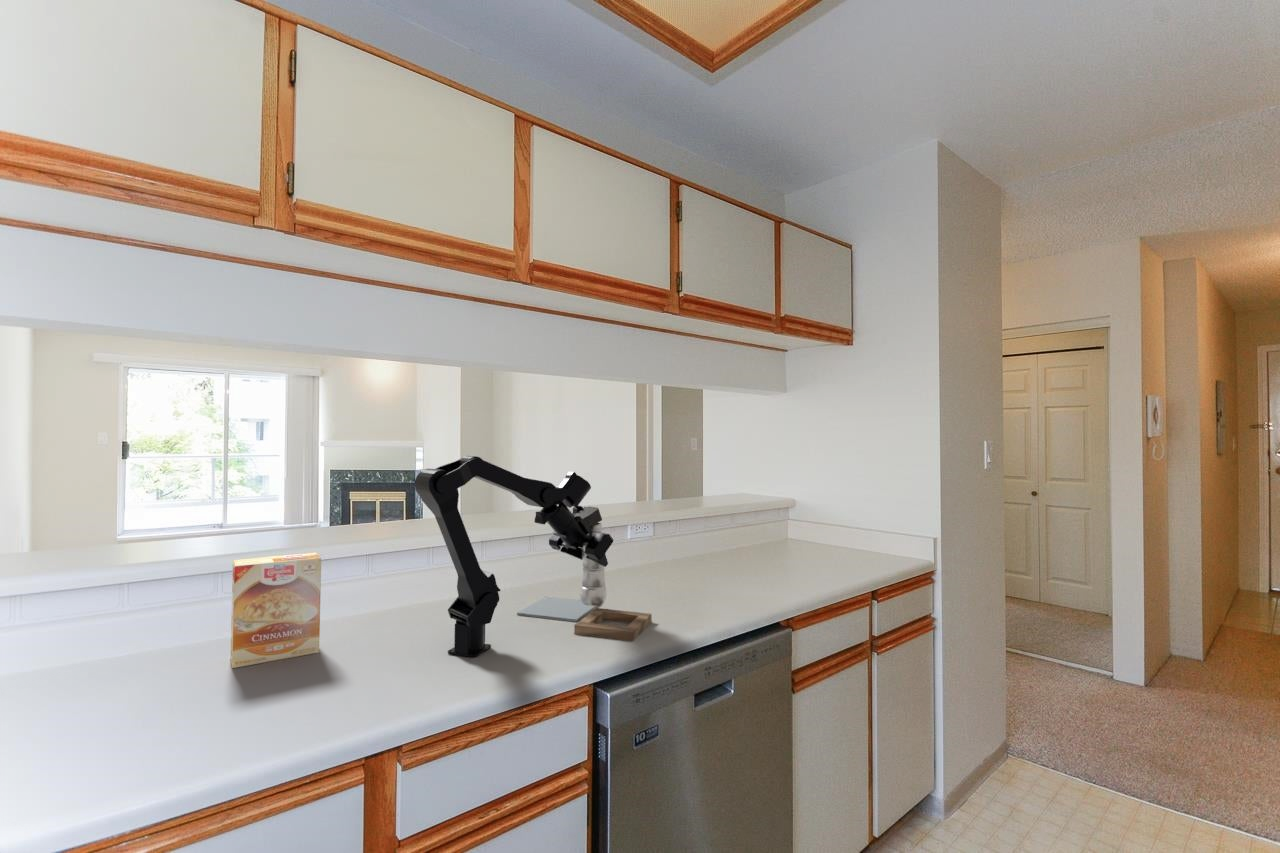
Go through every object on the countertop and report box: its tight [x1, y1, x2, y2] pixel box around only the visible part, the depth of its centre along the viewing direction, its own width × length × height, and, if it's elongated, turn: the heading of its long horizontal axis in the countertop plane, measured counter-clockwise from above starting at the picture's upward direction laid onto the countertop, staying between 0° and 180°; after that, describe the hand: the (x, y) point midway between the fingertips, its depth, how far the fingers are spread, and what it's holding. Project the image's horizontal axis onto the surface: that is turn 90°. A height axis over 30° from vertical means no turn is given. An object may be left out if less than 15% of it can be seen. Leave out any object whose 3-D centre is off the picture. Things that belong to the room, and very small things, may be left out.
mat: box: [516, 596, 600, 623], centre depth 155 cm, size 16×16×1 cm
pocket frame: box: [573, 607, 653, 642], centre depth 141 cm, size 14×14×2 cm
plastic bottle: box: [579, 522, 608, 606], centre depth 148 cm, size 6×7×20 cm
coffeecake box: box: [230, 551, 322, 669], centre depth 121 cm, size 15×7×20 cm, turn 126°
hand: (598, 563), depth 149 cm, fingers closed on plastic bottle, 6 cm apart
